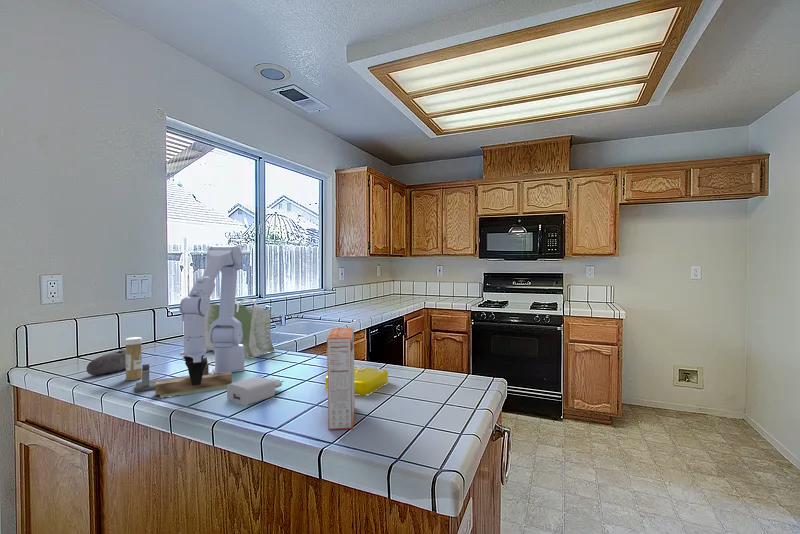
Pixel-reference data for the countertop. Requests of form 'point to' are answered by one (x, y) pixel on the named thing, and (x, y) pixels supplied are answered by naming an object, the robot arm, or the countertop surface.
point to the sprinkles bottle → (133, 358)
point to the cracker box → (340, 378)
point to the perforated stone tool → (108, 363)
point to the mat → (194, 391)
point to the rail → (186, 384)
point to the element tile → (367, 379)
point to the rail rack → (152, 384)
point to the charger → (252, 390)
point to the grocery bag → (246, 327)
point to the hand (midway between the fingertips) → (195, 381)
